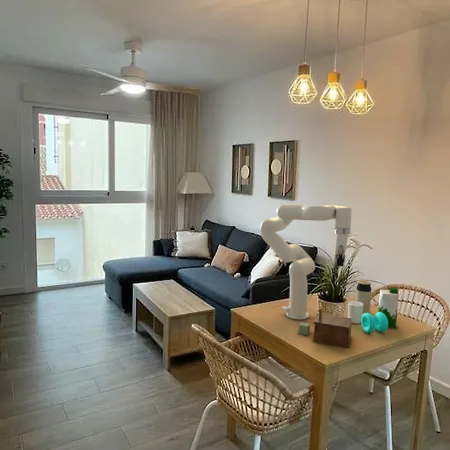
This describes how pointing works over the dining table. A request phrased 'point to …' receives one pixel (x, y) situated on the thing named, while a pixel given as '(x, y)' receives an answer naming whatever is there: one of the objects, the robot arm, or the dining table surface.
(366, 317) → the turquoise yo-yo
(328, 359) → the dining table surface
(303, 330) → the block
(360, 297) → the travel mug
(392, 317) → the milk carton
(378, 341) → the dining table surface
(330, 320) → the lid
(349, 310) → the white cup
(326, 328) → the chest
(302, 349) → the dining table surface
